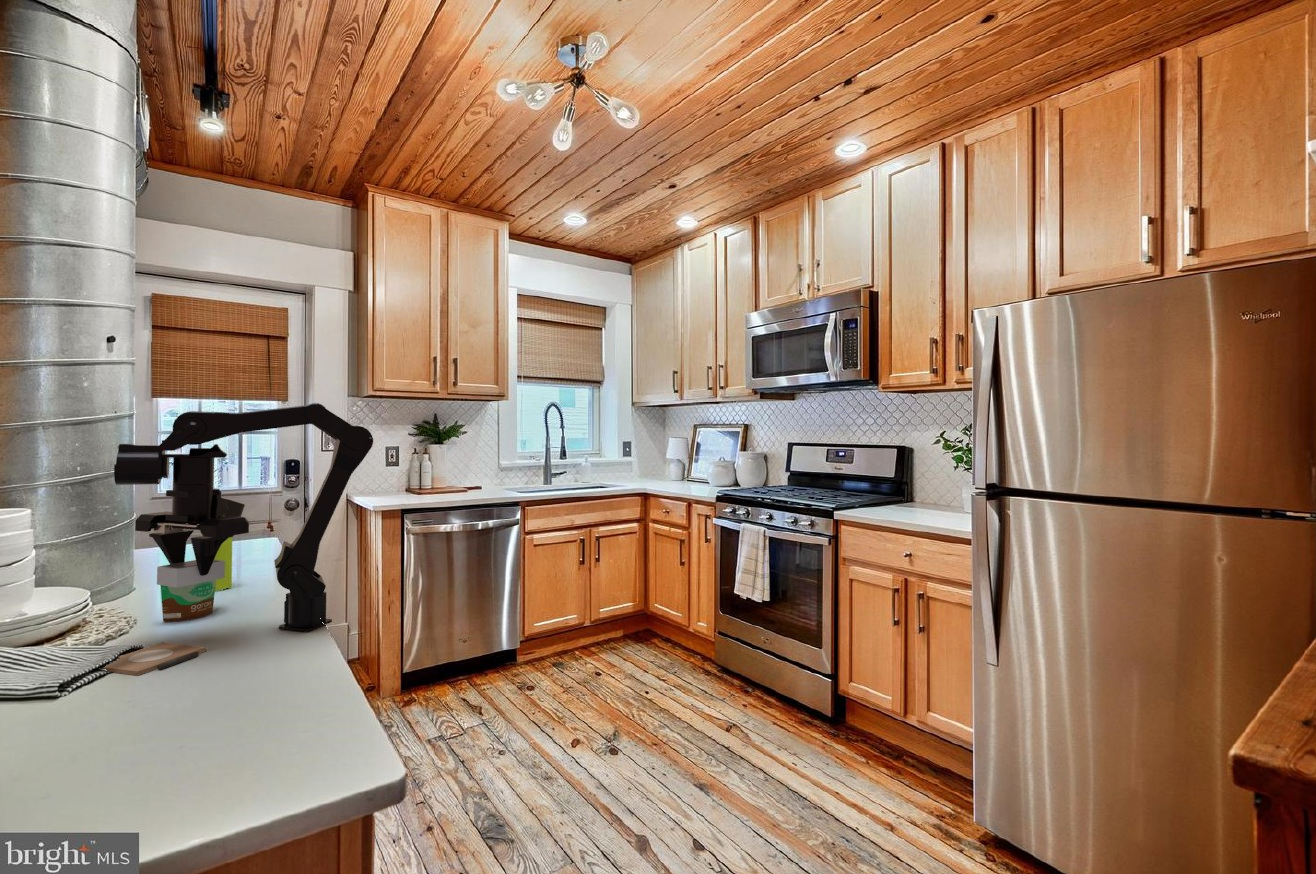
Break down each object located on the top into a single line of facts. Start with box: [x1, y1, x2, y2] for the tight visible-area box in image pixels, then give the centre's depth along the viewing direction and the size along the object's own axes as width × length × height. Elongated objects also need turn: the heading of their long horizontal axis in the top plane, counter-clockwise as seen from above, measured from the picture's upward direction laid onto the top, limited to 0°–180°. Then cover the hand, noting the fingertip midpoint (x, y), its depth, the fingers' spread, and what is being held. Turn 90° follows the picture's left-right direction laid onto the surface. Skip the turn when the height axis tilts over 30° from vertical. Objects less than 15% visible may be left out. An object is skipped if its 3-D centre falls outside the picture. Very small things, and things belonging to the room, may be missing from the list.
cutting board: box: [104, 642, 207, 676], centre depth 100 cm, size 10×11×1 cm
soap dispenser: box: [214, 537, 233, 592], centre depth 144 cm, size 6×7×20 cm
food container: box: [159, 580, 216, 623], centre depth 124 cm, size 12×6×10 cm, turn 179°
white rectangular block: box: [156, 559, 225, 588], centre depth 109 cm, size 5×8×3 cm, turn 159°
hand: (191, 574), depth 109 cm, fingers closed on white rectangular block, 5 cm apart
